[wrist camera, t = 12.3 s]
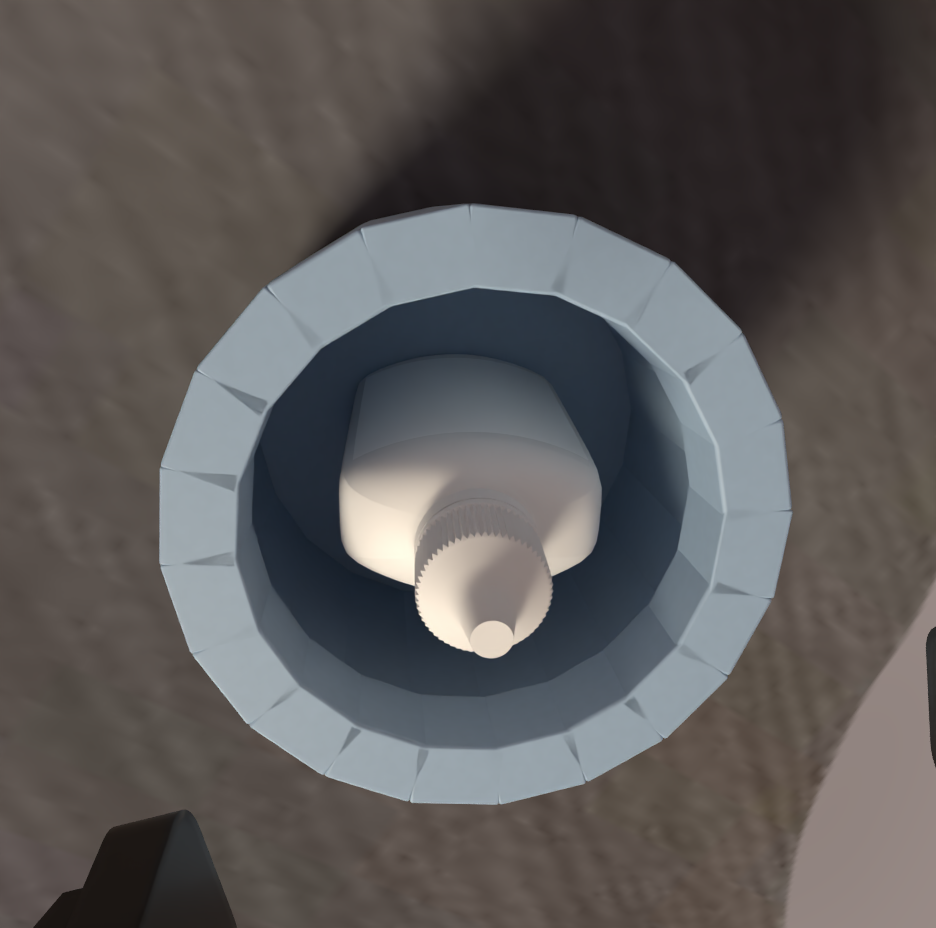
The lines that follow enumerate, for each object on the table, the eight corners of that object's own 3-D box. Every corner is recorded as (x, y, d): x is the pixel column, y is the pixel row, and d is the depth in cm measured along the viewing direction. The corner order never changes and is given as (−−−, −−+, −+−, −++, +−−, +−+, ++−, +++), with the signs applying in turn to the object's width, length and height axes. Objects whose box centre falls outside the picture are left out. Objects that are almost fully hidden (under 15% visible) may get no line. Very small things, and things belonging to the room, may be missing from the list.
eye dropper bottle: (406, 295, 23) (403, 445, 12) (575, 391, 25) (713, 607, 14) (332, 426, 25) (268, 672, 13) (497, 512, 26) (565, 800, 15)
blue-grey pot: (189, 260, 24) (62, 293, 14) (606, 167, 24) (757, 138, 15) (303, 636, 27) (263, 864, 18) (665, 549, 28) (816, 727, 18)
